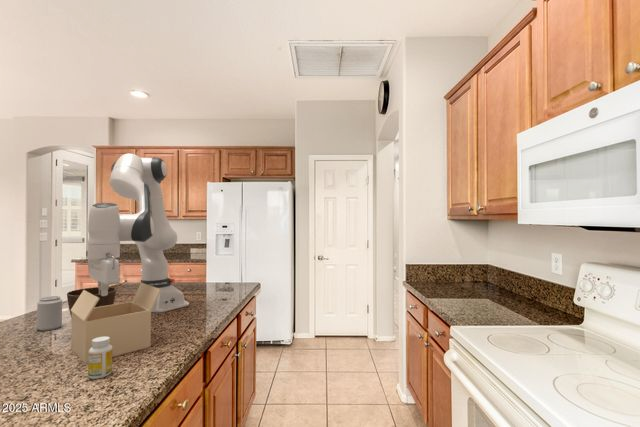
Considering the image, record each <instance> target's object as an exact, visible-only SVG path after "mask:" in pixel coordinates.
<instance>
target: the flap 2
mask: <svg viewBox="0 0 640 427" xmlns="http://www.w3.org/2000/svg"><path fill="white" fill-rule="evenodd" d="M140 283H141V282H140ZM160 291H161V289H159V288H156V287H153V286H150V285H147V284H144V283H141V284H139V287H138V289H137V291H136V292H135V295H134V297H133V298H132V302H134V303H136V304H140V305H142V306H144V307H146V308H149V309H151V310H152V308H153V306H154V304H155V302H156V300H157V297H158V295H159V293H160Z"/></svg>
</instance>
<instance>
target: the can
mask: <svg viewBox="0 0 640 427" xmlns="http://www.w3.org/2000/svg"><path fill="white" fill-rule="evenodd" d="M36 304H37V308H36V310H37V311H36V312H37V313H36V329H37V330H39V331H43V332H45V331H47V332H48V331H52V330H57V329H59V328H60V327H61V326H62V324H63V323H62V322H63V320H62V319H63V300H62V299H61V296H59V295H52V296H50V295H49V296H45V297H41V298H40V299H39V301H37V303H36Z"/></svg>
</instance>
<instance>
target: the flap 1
mask: <svg viewBox="0 0 640 427" xmlns="http://www.w3.org/2000/svg"><path fill="white" fill-rule="evenodd" d="M99 299H100V298H98V297H96V296H94V295H93V294H91V293H89V292H87V291H85V290H83V292H82V293H81V295H80V296H79V298H78V299H77V301H76V302H75V304H74V306H73V307H72V309H71V311H72V312H73V313H75V314H76V315H77V316H78V317H80V318H81V319H82V320H83V321H86V320H87V318H88V317H89V315H90V313H91V312H92V310H93V309H94V307H95V305H96V304H97V302H98V300H99Z"/></svg>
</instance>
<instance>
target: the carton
mask: <svg viewBox="0 0 640 427" xmlns="http://www.w3.org/2000/svg"><path fill="white" fill-rule="evenodd" d="M70 323H71V324H70V327H71V330H70V333H71V335H70V336H71V337H70V349H71V350H72V351H73V352H74V353H75V354H76V355H77V357H78V358H79V359H80V360H81V361H82V362H83V364H84V365H87V364H88V358H89V350H90V348H92V347H93V346H92V340H93V339H95V338H98V337H104V336H107V337H110V342H109V344H110V345H111V346H112V358H113V357H117V356H121V355H124V354H129V353H132V352H136V351H139V350H144V349H147V348H151V347H152V346H151V343H152V340H151V338H152V337H151V336H152V330H151V329H152V312H151V310H150V309H147V308H145V307H143V306H141V305H139V304H138V303H135V302H133V300H132V301H126V302H120V303H114V304H113V305H106V306H100V307H94V309H93V310H92V312H91V313H90V315H89V317H88V318H87V320H86V321H83V320H82V319H81V318H80V317H78V316H77V315H76V314H75V313H73V312H72V318H71V322H70Z"/></svg>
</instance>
